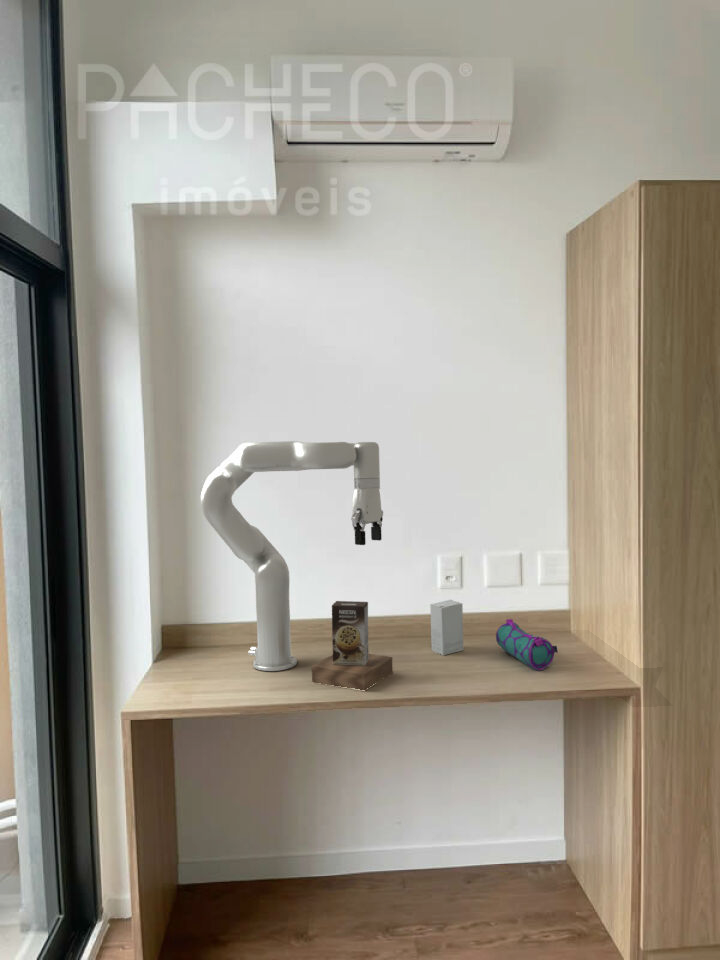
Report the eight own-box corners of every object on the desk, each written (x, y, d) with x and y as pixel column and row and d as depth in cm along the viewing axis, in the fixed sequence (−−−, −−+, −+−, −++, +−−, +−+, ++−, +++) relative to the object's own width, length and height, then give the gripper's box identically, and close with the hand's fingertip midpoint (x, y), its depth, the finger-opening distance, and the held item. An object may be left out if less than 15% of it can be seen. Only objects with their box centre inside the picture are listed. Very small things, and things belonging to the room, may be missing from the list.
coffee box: (332, 665, 188) (330, 605, 188) (337, 658, 195) (335, 600, 194) (365, 666, 187) (364, 606, 186) (369, 658, 193) (368, 600, 192)
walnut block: (312, 684, 189) (311, 666, 188) (342, 667, 203) (342, 649, 202) (364, 693, 181) (364, 674, 180) (392, 674, 195) (392, 657, 194)
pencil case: (558, 669, 194) (557, 635, 194) (529, 673, 192) (529, 638, 191) (520, 649, 214) (520, 617, 213) (494, 652, 212) (493, 620, 211)
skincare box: (451, 646, 218) (451, 599, 217) (464, 651, 213) (463, 602, 212) (430, 651, 213) (429, 602, 213) (442, 656, 208) (441, 606, 207)
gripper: (370, 482, 215) (371, 537, 216) (340, 486, 200) (342, 545, 201) (392, 482, 212) (393, 539, 213) (363, 486, 197) (365, 547, 198)
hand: (368, 542), depth 207 cm, fingers open, 9 cm apart
